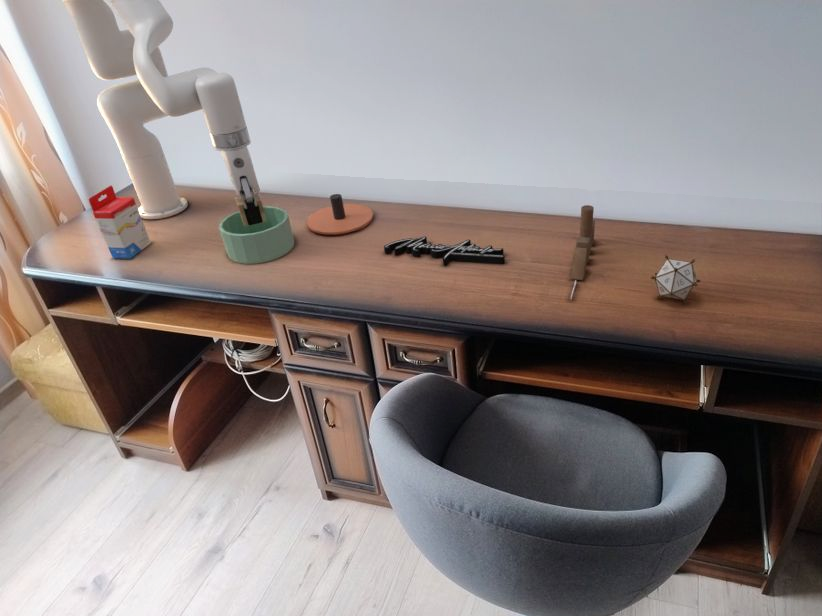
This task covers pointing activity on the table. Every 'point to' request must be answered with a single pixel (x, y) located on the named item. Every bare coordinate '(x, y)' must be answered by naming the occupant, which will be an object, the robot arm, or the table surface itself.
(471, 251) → the nameplate
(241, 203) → the block
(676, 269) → the game die
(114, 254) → the ink box
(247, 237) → the green round container
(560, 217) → the table surface
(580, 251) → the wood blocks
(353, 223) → the lid
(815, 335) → the table surface
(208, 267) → the table surface
